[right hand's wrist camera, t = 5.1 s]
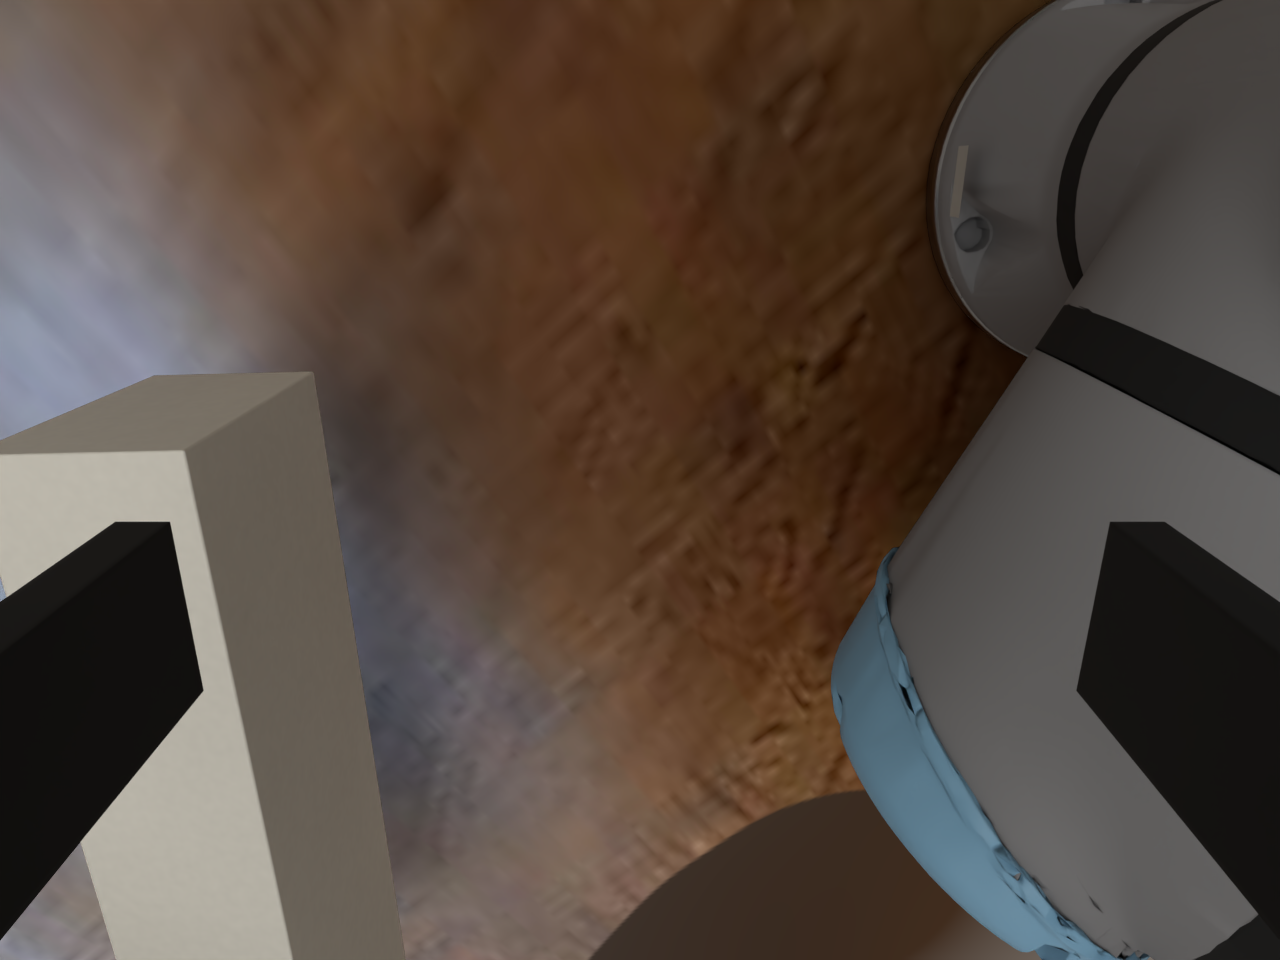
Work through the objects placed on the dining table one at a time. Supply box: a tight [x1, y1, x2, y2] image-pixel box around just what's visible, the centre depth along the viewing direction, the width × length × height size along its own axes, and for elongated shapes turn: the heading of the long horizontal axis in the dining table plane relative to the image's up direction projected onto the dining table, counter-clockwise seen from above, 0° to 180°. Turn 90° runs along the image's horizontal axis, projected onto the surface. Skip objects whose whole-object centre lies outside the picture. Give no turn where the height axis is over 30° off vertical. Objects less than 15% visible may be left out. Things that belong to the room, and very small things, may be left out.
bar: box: [0, 372, 406, 960], centre depth 32 cm, size 32×6×9 cm, turn 2°
